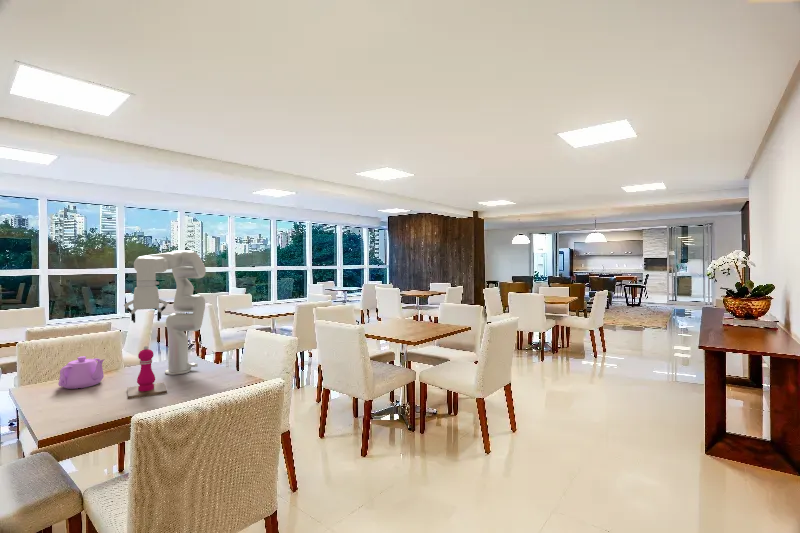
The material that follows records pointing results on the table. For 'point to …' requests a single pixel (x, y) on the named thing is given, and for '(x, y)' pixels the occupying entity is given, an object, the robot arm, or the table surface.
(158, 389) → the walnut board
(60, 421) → the table surface
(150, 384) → the pepper mill
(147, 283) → the robot arm
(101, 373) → the teapot
